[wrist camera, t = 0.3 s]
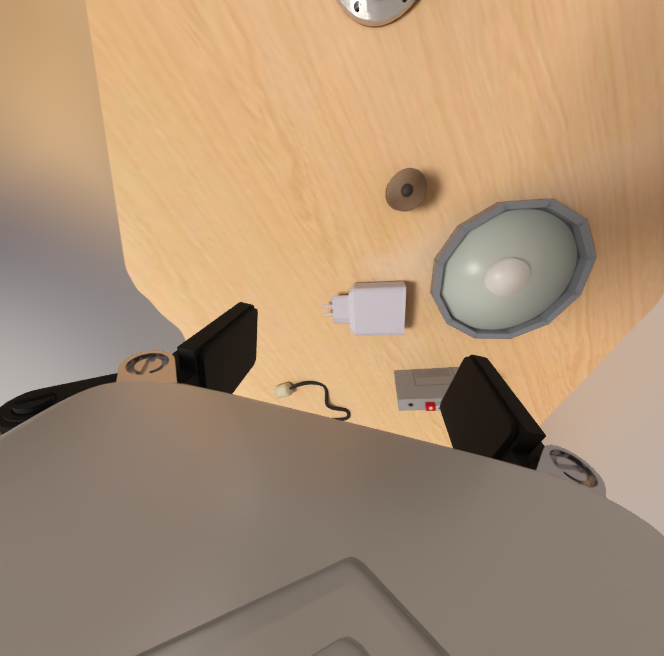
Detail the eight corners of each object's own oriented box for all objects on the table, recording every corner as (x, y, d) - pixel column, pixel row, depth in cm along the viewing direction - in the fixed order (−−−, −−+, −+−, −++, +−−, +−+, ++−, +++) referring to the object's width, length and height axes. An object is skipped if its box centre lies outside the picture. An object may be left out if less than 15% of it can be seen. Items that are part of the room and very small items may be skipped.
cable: (330, 368, 55) (328, 378, 52) (354, 418, 62) (353, 430, 59) (273, 382, 60) (267, 392, 57) (300, 428, 66) (297, 438, 63)
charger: (322, 283, 46) (403, 279, 44) (327, 326, 50) (401, 325, 48) (317, 291, 42) (406, 287, 39) (322, 337, 46) (404, 337, 43)
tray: (410, 253, 41) (412, 256, 39) (560, 165, 33) (573, 162, 31) (460, 349, 48) (464, 356, 46) (594, 295, 40) (607, 301, 38)
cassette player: (394, 380, 54) (399, 414, 45) (394, 370, 53) (398, 403, 44) (471, 376, 50) (492, 412, 42) (472, 365, 49) (494, 400, 40)
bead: (379, 187, 37) (381, 184, 32) (409, 165, 36) (416, 158, 30) (394, 217, 39) (398, 218, 34) (424, 197, 37) (433, 196, 32)
